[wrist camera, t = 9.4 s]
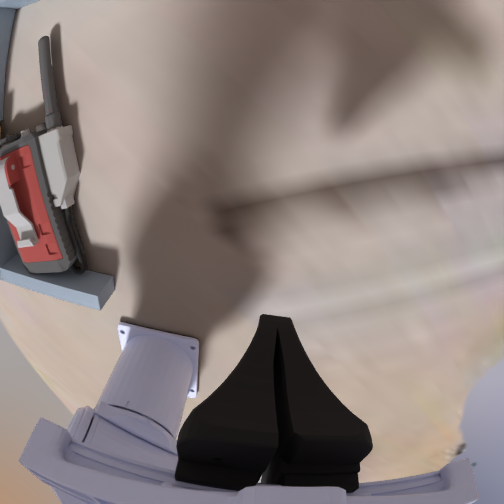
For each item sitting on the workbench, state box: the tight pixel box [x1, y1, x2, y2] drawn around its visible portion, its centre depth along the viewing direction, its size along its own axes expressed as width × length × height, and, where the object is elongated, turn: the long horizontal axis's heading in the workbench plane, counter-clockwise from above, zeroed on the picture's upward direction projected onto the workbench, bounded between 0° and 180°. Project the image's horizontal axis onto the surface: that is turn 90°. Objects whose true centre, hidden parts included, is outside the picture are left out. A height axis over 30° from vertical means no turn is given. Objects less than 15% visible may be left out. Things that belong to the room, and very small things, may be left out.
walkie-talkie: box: [0, 36, 87, 274], centre depth 18 cm, size 9×4×20 cm
